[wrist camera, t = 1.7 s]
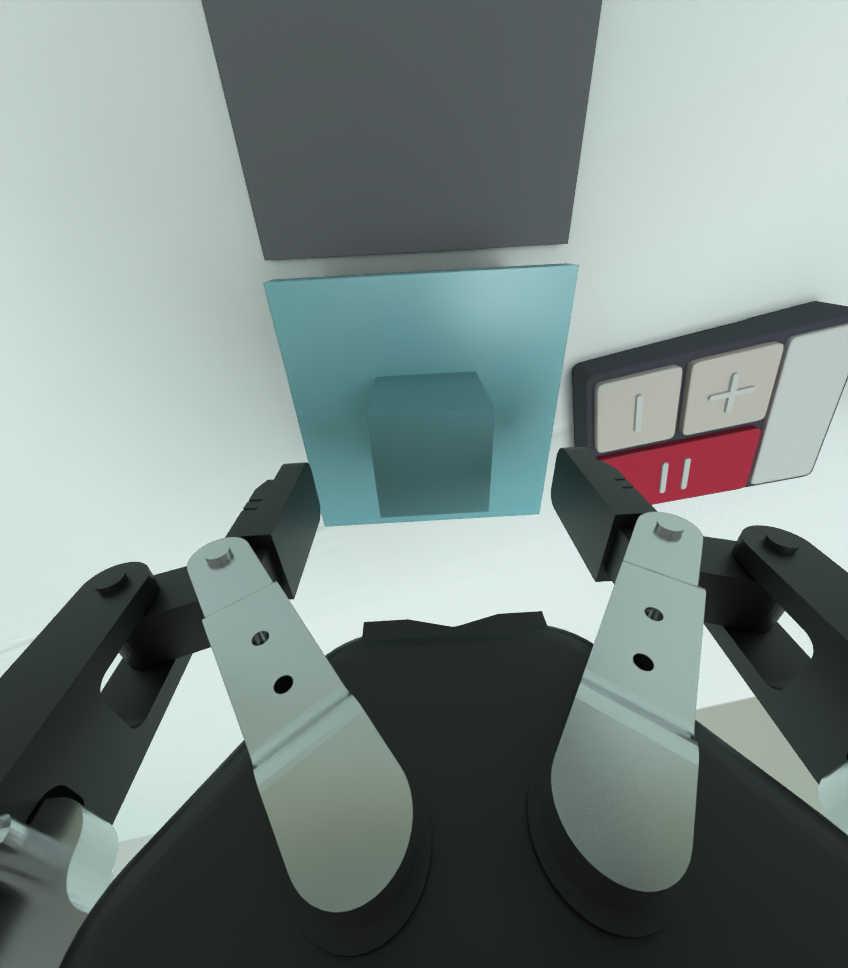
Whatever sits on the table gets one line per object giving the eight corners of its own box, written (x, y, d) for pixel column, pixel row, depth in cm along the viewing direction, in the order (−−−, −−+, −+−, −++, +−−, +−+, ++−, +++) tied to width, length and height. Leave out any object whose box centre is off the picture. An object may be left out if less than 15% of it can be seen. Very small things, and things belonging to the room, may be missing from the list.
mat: (128, -345, 11) (106, -390, 11) (643, -370, 11) (661, -418, 11) (270, 259, 20) (264, 260, 19) (561, 243, 20) (567, 243, 19)
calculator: (589, 380, 21) (892, 310, 19) (566, 360, 25) (818, 298, 22) (591, 523, 27) (821, 482, 25) (572, 490, 31) (772, 451, 28)
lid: (285, 276, 15) (211, 296, 9) (553, 261, 15) (639, 272, 9) (333, 496, 21) (306, 587, 15) (525, 485, 21) (567, 572, 16)
